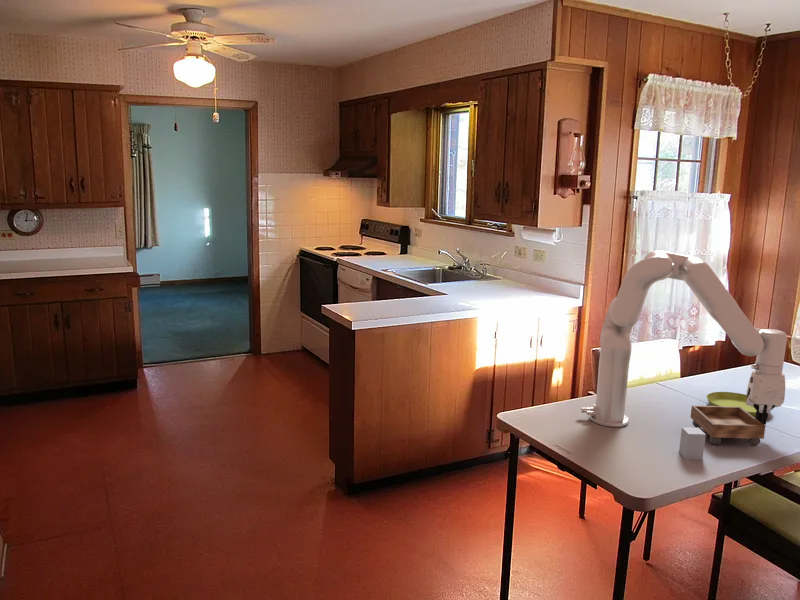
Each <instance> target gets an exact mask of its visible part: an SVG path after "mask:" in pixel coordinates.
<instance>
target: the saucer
mask: <svg viewBox="0 0 800 600" xmlns="http://www.w3.org/2000/svg"><path fill="white" fill-rule="evenodd" d="M706 399H707V401H708V403H709V404H710V406H729V407H741V408H743V409H744V410H745V411H747V412H748V413H749V414H750V415H752V416H753V417H754V418H755V417H756V409H755V408H754V407H752V406H748V405H747V404H746V401H747V398H746V394H745V393H740V392H730V391H714V392H710V393H708V394H707V395H706Z"/></svg>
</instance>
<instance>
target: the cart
mask: <svg viewBox="0 0 800 600" xmlns="http://www.w3.org/2000/svg"><path fill="white" fill-rule="evenodd" d="M690 418H691V420H692V425H693V426H694V428H699V429H701V430H702V431H703V432H706V434H708V435H709V436H710V437H709V442H710V443H711V444H713V445H715V446H717V445H719V444H721V442H722V438H724V439H725V438H728V439H730V438H732V439H748V441H747V442H748V443H749V444H750V445H751V446H753V447H756V446H758V445H760V443H761V440H762V439H763V440H764V439H765V432H766V425H764V424H762V423H761V422H760V421H758V420H757V419H756V418H755V417H753V416H752V415H750V414H749V413H748V412H747V411H745V410H744V409H743V408H741V407H729V406H712V405H691V410H690Z"/></svg>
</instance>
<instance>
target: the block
mask: <svg viewBox="0 0 800 600" xmlns="http://www.w3.org/2000/svg"><path fill="white" fill-rule="evenodd" d="M706 436H707V433H705V431H704V430H703V429H701V428H696V427H690V426H689V427H686V426H682V427H681V431H680V439H679V440H680V441H679V442H680V443H679V449H678V453H680V455H682V457H683V458H684V459H685V460H701V461H702V460H703V458H704V452H705V444H706V443H705V442H706Z"/></svg>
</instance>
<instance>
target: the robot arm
mask: <svg viewBox="0 0 800 600" xmlns="http://www.w3.org/2000/svg"><path fill="white" fill-rule="evenodd" d="M667 279H672V280H677V281H678V280H679V281H683V282H685V284H686V285H687V286H688V287H689V288H690V290H691V291H692V293H693V294H694V295H695V297H696V298H697V299H698V301H699V302H700V303H701V305H702V306H703V308H704V309H705V310H706V312H707V313H708V314H709V316H710V317H711V318H712V319H713V320H715V322H716V323H717V324H718V325H719V326H720V327H721V328H722V330H723V331H724V333H725V334H726V335H727V336H728V338H729V339H730V341H731V343H732V345H733V346H734V347H735V348H736V349H737V350H738V352H740V354H742V355H743V356H745V357H755V356H756V360H755V361H754V362H755V363H754V364H751V369H752V372H751V374H750V377H749V379H748V383H747V389H746V394H745V395H746V398H747V401H746V404H747V405H748V406H752V407H754V408H755V409H756V417H754V418H756V419H757V420H758V421H760V422H761V423H762V424H764V425H765V426H766V425H767V422H768V417H769V414H770V413H771V412H772V410H773V409H775V408H779V407H781V406H782V405H783V404H784V403H785V397H786V377H785V373H783V368H784V361H785V355H786V348H787V343H788V335H787V333H786V332H785V331H782V330H779V329H772V328H765V329H764V328H763V329H762V328H758V327H754V325H753V324H752V322H751V321H750V320H749V318H748V317H747V316H746V314H745V313H744V311H743V310H742V309H741V307H740V306H739V304H738V303H737V301H736V299H735V298H734V297H733V296H732V294H731V293H730V291H728V289H727V288H726V287H725V285H724V284H723V282H722V281H721V280H720V278H719V277H718V276H717V274H716V272H714V270H713V269H712V268H711V266H710V265H709V264H708V263H707V262H706V261H704V260H703V259H701V258H700V257H696V256H691V255H684V254H679V253H674V252H670V251H664V250H653V251H650V252H648V253H647V254H646V255H645V256H644V259H641V260H639V261H638V262H636V263H635V264H633V265H631V267H630V268H629V269H628V270H627V272H626V273H625V275H624V277H623V279H622V281H621V284H620V287H619V289H618V292H617V296H615V297H614V298H613V299H612V300H611V301H610V304H609V306H608V309H607V312H606V313H605V314H606V315H605V317H604V321H603V325H602V328H601V331H600V337H599V339H600V341H599V342H600V343H599V344H600V349H599V353H600V354H599V360H598V370H597V371H598V372H597V373H598V374H597V385H596V386H597V387H596V397H595V403H593V404H592V406H590V407H585V406H584V407H583V406H581V407H580V413H581V414H583V413H584V414H586V415H587V416H589V418H590V420H591V421H592V422H594V423H595V424H597V425H600V426H604V427H611V428H620V427H625V426H626V425H628V424H629V423H630V422H629V421H630V419H629V417H628V416H627V415H625V410H626V400H627V390H628V379H629V371H630V370H629V368H630V362H631V356H632V354H631V353H632V339H631V337H630V336H631V333H632V331H633V330H632V329H633V327H634V326H635V325H637V323H638V322H639V319H640V318H641V313H642V309H643V307H644V304H645V300H646V297H647V295H648V292H649V290H650V288H651V287H652V285H654V284H655V283H657V282H658V281H664V280H667Z"/></svg>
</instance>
